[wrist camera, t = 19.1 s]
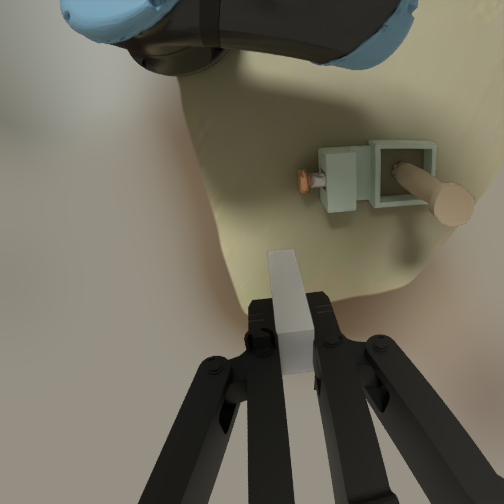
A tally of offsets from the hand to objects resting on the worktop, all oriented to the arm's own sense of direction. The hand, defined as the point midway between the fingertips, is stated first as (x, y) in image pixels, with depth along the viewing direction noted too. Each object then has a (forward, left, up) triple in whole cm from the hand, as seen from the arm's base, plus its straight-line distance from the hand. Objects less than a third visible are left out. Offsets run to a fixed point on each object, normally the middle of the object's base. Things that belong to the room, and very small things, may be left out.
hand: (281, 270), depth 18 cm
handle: (+2, +21, -27) cm, 34 cm away
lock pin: (+2, +8, -26) cm, 27 cm away
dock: (+2, +17, -26) cm, 32 cm away
